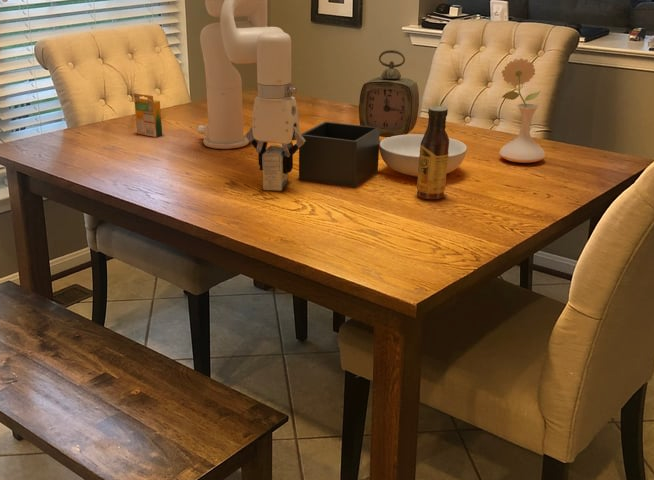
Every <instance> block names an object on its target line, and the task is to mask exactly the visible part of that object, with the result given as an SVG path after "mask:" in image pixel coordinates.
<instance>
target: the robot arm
mask: <svg viewBox="0 0 654 480" xmlns="http://www.w3.org/2000/svg"><path fill="white" fill-rule="evenodd" d="M204 3H205V9H206V12H207V14H208V15H210V16H211V17H214V18H219V22H213V23H209V24H207V25H205V26H204V27H203V28H202V29H201V30H200V34H199V41H200V48H201V53H202V57H203V64H204V72H205V73H204V74H205V87H206V88H205V89H206V107H207V125H204V124H199V125H198V128H197V134H199V135H205V137H204V139H203V145H204V146H206V147H208V148H211V149H219V150H230V149H231V150H232V149H239V148H243V147H246V146H247V145H249V144H250V143H251V146H252V147H253V148H254V149H255V153H256V154H257V155H258V158H257V159H258V166H259V170H260V171H263V163H262V155H263V154H264V153H265V151H266V150H267V147H268V143H272V144H278V145H279V144H280V145H281V146H283V150H284V153H285V156H284V157H283V173H284V174H287V173H288V174H289V173H290V172H292V170H293V167H294V155H295V154H296V152H298V151H299V148H300V147H301V146H303V145H304V144H305V143H306V140H305V139H304V137H303V136H302V135H301V134H302V132H300V121H299V119H300V118H299V111H298V104H297V101H296V97H295V96H293V95H296V94H297V92H298V89H297V87H294V86H293V83H292V38H291V36H290V34H289V33H287V32H284V30H283V29H282V28H281V27H278V26H268V0H204ZM243 17H245V18H247V20H245V21H244V20H243V21H242V20H241V21H235V18H243ZM234 64H235V65H236V64H237V65H243V64H256V72H257V73H256V78H257V95H256V96H255V98H254V103H253V109H252V126H251V127H250V128H249V130H248V131H247V132H246V133H245V134H244V113H243V112H244V111H243V81H242V76H241V74H240V72H239V71H238V70H237V68H236V66H234ZM293 141H296V143H293Z"/></svg>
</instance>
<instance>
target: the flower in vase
mask: <svg viewBox="0 0 654 480" xmlns="http://www.w3.org/2000/svg"><path fill="white" fill-rule="evenodd" d="M501 75H502V77H503V82H504V83H505V82H506V83H507V84H510V85H512V86H513V85H514V86H518V92H516V91H515V90H510V91H507V92H506V93H505V94H503V95H502V96H501V98H502V99H507V100H511V101H514V100H516V99H518V97H520V98H521V101H522V103H518V104H517V107H518V109H519V112H520V130H519V133H518V135H517V136H516V137H515V138H513V139H512V140H510V141H509V142H507V143H506V144H505V145H503V146H502V147H501V148H500V150H499V152H498V153H499V156H500V157H501V158H502V159H504V160H506V161H509V162H513V163H520V164H521V163H523V164H530V163H536V162H540V161H542V160H543V159H544V158H545V157H546V152H545V150H544V149H543V148H542V147H541V146H540V145H539V144H538V142H536V141H535V139H533V137H532V135H531V131H530V130H531V123H532V119H533V116H534V114H535V112H536V111H537V109H538V108H539V105H538V104H534V103H526V102H527V101H532V100H535V99H536V98H538V96H539V95H540V93H541V90H539V91H536V92H533V93H530V94H527V96H526V97H525V98H523V95H522V94H521V85H523V84H525V83H529V82H530V81H531V79H533V77H534V76H535V75H536V69H535V65H534V62H533V61H529V59H527V58H526V59H525V58H519V59H518V58H514V59H513V61H511V60H510V61H509V62H508V63H507V64H506V65H505V66H504V68H503V69H502V70H501ZM520 84H521V85H520Z"/></svg>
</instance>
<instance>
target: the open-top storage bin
mask: <svg viewBox="0 0 654 480" xmlns="http://www.w3.org/2000/svg"><path fill="white" fill-rule="evenodd" d="M301 135H302V136H303V137H304V139H305V140H306V143H305V144H304V145H303V146H301V147H300V148H299V149H298V180H299V181H306V182H312V183H319V184H326V185H333V186H339V187H340V186H342V187H348V188H353V189H354V188H357V187H358V186H360V185H361V184H363V183H364V182H365V181H367V180H368V179H370V178H371V177H372V176H374V175H375V174H377V173H378V172H379V158H380V156H379V155H380V137H381V136H380V128H379V127H369V126H360V124H351V123H350V124H349V123H341V122H332V121H323V122H322V123H319V124H317V125H316V126H314V127H312V128H310V129H308V130H305V131H304V132H301Z"/></svg>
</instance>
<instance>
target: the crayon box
mask: <svg viewBox="0 0 654 480" xmlns="http://www.w3.org/2000/svg"><path fill="white" fill-rule="evenodd" d="M140 97H142V98H140ZM143 97H144V98H143ZM133 99H134V101H133V102H134V111H135V113H134V114H135V124H136V134H137V135H143V136H147V137H154V138H158V137H161V136H163V125H162V113H161V112H162V111H161V101H160V100H154V96H153V95H151V94H150V95H148V94H142V93H133Z"/></svg>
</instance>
